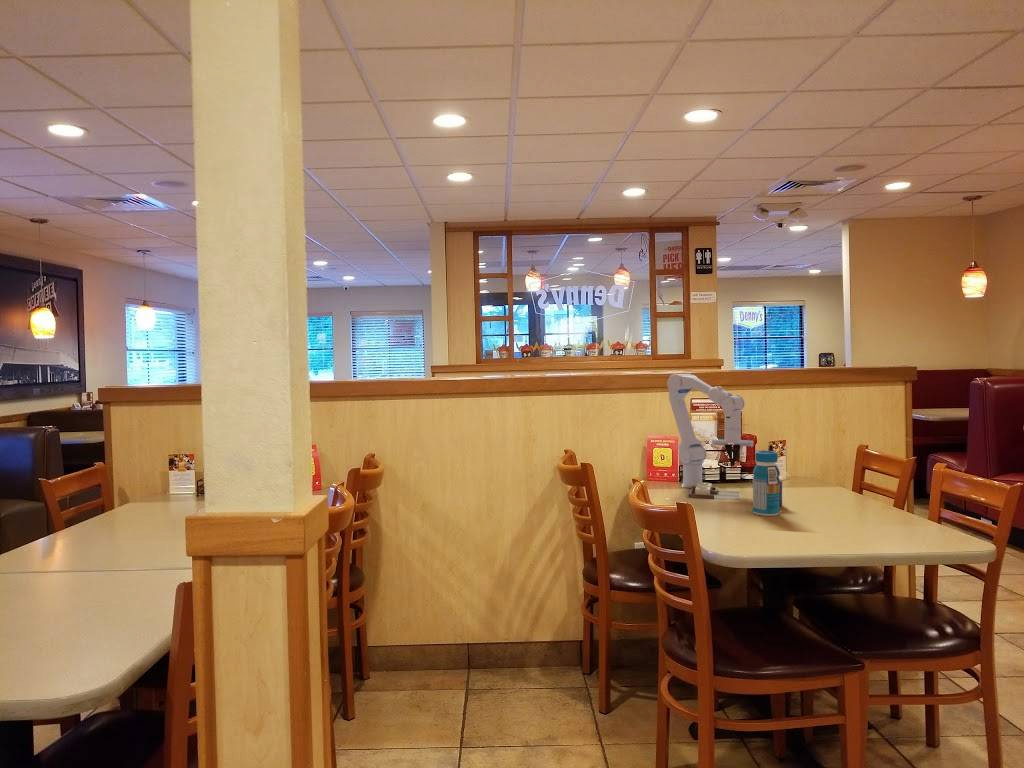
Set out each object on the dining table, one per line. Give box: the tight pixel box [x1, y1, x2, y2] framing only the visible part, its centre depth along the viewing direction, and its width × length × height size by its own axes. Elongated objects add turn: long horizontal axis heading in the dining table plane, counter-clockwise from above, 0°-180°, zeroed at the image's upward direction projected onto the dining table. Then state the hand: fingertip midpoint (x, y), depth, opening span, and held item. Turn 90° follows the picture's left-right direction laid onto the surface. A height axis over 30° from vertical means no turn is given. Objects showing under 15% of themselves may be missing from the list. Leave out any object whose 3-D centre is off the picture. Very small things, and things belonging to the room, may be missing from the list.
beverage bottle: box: [751, 450, 781, 517], centre depth 244 cm, size 8×8×20 cm
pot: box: [695, 486, 710, 495], centre depth 274 cm, size 5×5×3 cm
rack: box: [686, 486, 741, 501], centre depth 276 cm, size 17×18×2 cm
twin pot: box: [697, 481, 713, 490], centre depth 281 cm, size 5×5×3 cm
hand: (732, 465), depth 279 cm, fingers closed
